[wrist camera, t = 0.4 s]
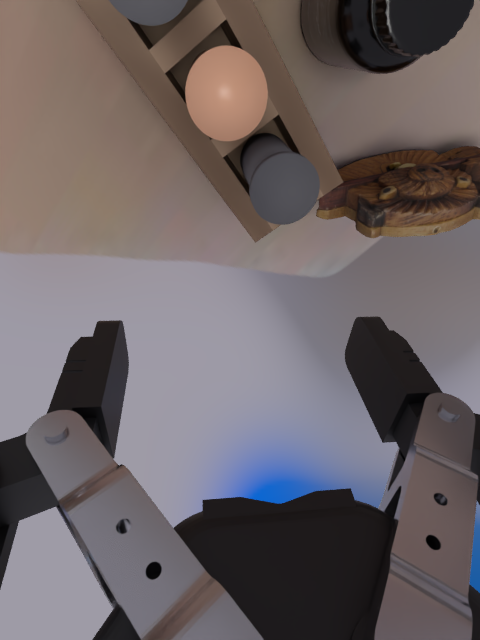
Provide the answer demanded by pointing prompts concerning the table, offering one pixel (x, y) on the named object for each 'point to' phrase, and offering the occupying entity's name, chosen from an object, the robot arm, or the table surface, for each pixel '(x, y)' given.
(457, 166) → the wooden carving
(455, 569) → the robot arm
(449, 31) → the supplement bottle
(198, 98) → the terracotta plug
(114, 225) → the table surface
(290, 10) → the table surface
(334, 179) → the walnut socket block
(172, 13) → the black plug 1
